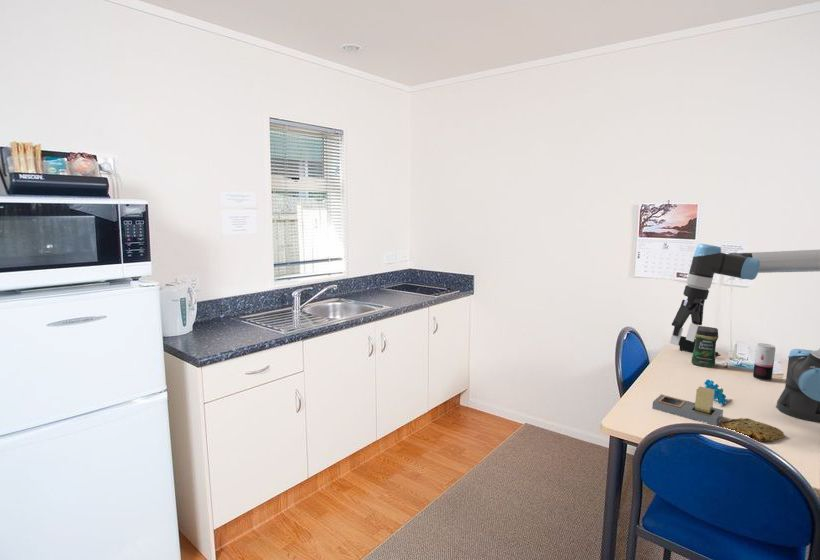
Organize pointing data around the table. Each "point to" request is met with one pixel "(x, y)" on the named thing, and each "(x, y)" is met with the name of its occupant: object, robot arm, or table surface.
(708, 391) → the brass peg
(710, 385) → the blue irregular branched piece
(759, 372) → the beverage can
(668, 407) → the grey block
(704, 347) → the coffee jar
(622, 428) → the table surface
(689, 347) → the game console
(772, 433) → the pastry
